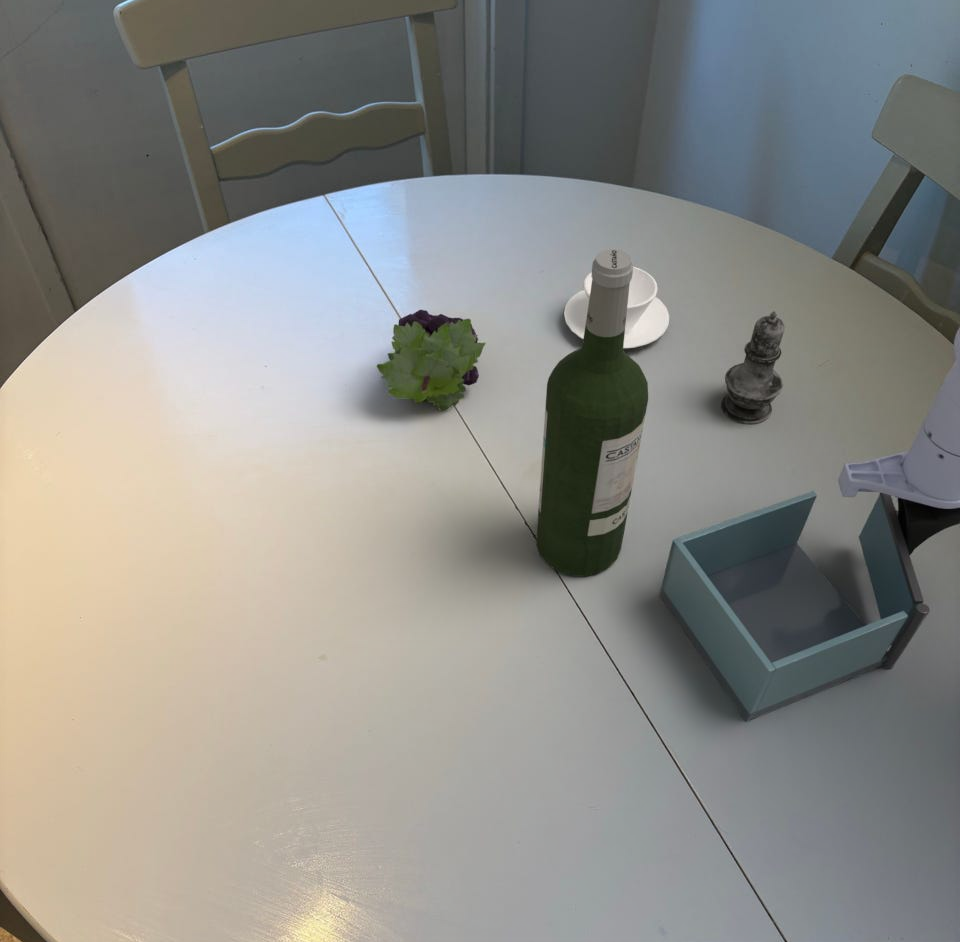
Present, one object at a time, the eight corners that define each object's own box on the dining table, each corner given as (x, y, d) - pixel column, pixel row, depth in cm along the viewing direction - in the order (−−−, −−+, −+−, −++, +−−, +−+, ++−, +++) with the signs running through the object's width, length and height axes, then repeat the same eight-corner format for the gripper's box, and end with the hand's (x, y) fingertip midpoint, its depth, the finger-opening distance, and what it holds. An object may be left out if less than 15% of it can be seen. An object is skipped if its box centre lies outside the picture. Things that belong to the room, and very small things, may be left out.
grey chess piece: (708, 395, 98) (732, 299, 89) (758, 384, 99) (786, 288, 90) (734, 431, 95) (761, 335, 86) (784, 419, 96) (817, 323, 87)
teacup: (666, 297, 109) (673, 257, 105) (668, 361, 102) (676, 321, 98) (565, 291, 110) (569, 251, 106) (560, 354, 103) (563, 314, 99)
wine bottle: (614, 585, 83) (666, 301, 59) (528, 569, 84) (545, 284, 60) (626, 521, 87) (678, 234, 64) (544, 507, 88) (566, 220, 65)
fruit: (472, 374, 105) (473, 438, 93) (380, 361, 104) (369, 423, 92) (487, 288, 99) (490, 343, 87) (390, 272, 98) (379, 327, 86)
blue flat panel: (909, 646, 77) (939, 601, 72) (887, 646, 77) (915, 601, 72) (878, 537, 84) (902, 489, 79) (857, 536, 84) (881, 489, 79)
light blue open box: (896, 666, 77) (932, 610, 71) (749, 727, 74) (774, 674, 67) (794, 545, 85) (819, 485, 79) (658, 594, 82) (673, 536, 76)
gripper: (1043, 398, 71) (970, 516, 82) (854, 394, 71) (806, 512, 82) (1076, 463, 67) (995, 578, 77) (874, 459, 67) (821, 574, 78)
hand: (899, 548), depth 79 cm, fingers closed
